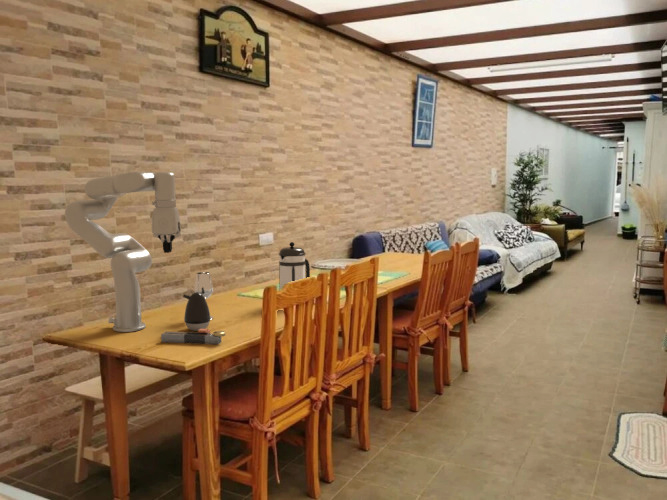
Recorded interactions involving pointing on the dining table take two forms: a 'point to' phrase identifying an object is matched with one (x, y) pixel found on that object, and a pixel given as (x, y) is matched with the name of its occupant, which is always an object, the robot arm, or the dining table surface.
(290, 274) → the coffee press
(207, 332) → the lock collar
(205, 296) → the wineglass
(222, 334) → the tongs fixed arm
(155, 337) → the dining table surface
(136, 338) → the dining table surface
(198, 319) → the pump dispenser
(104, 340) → the dining table surface
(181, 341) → the tongs moving arm
